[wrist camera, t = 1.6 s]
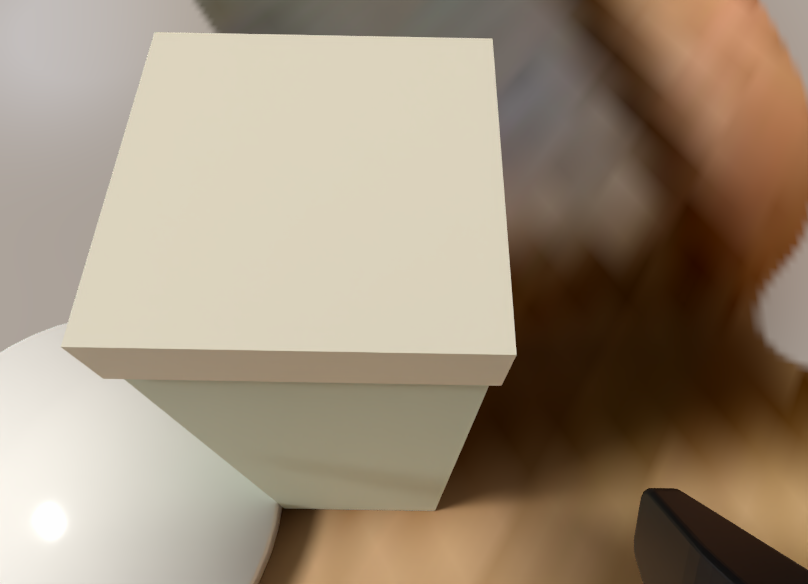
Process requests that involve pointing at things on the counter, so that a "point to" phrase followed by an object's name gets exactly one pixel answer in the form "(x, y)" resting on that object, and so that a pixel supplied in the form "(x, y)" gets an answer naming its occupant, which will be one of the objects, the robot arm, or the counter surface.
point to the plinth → (114, 484)
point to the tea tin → (308, 258)
